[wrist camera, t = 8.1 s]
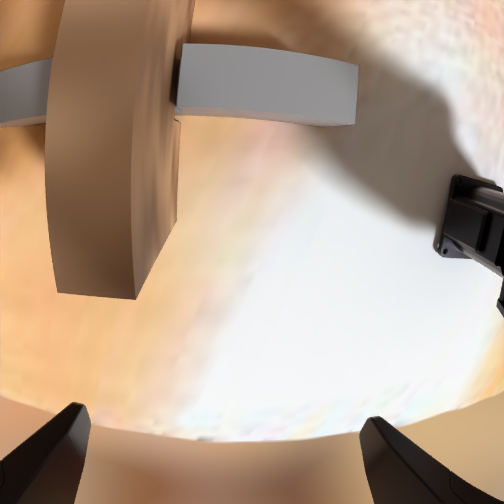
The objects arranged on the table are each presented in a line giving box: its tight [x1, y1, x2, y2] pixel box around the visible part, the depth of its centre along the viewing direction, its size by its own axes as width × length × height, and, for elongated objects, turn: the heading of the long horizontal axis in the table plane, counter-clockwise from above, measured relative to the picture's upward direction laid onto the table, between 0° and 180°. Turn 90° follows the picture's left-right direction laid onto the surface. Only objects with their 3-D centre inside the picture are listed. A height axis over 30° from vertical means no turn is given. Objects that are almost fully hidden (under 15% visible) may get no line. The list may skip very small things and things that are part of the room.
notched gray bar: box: [0, 44, 359, 127], centre depth 14 cm, size 20×3×5 cm, turn 85°
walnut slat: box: [45, 0, 195, 300], centre depth 11 cm, size 16×3×10 cm, turn 175°
